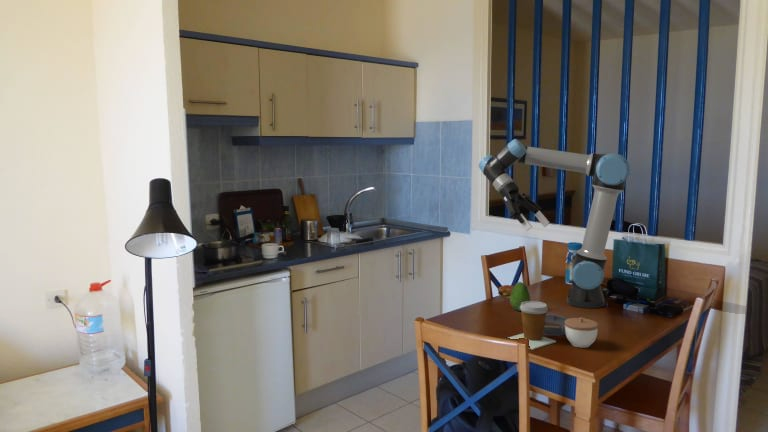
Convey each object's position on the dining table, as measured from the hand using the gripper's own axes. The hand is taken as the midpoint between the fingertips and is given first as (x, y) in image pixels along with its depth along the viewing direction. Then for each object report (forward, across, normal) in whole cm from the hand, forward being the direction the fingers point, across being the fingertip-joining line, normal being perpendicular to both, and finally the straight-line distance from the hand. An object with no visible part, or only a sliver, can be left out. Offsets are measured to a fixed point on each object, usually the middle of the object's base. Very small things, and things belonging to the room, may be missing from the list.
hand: (538, 226), depth 217 cm
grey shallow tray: (+34, +12, -17) cm, 39 cm away
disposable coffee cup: (+34, +26, -15) cm, 46 cm away
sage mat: (+35, +28, -15) cm, 48 cm away
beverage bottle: (+16, -59, -35) cm, 70 cm away
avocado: (+20, -1, -31) cm, 37 cm away
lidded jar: (+45, +20, -6) cm, 50 cm away
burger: (+9, -17, -42) cm, 46 cm away
